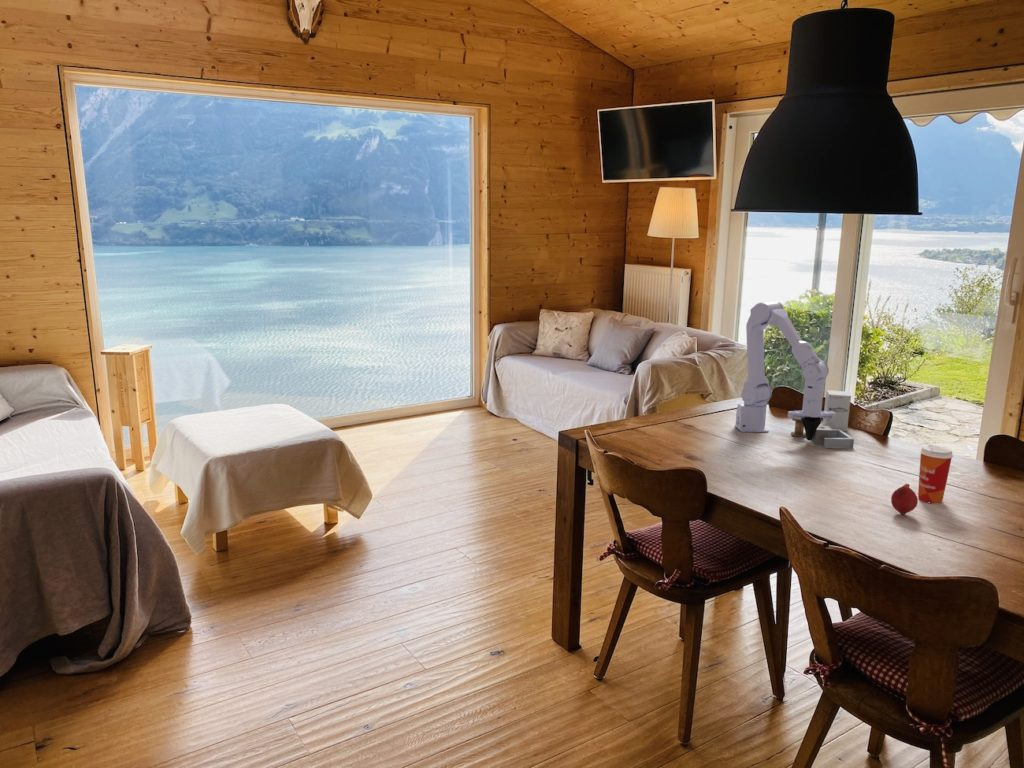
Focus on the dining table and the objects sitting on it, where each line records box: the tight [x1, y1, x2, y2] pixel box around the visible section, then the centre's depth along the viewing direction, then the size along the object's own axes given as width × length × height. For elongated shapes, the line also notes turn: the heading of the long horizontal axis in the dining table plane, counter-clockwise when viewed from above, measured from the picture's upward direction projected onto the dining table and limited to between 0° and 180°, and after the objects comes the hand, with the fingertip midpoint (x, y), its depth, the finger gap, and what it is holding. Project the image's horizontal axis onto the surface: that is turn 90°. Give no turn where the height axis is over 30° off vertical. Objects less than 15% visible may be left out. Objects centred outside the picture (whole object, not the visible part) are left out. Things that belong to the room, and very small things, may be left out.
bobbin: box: [790, 418, 806, 438], centre depth 256 cm, size 5×5×6 cm
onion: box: [890, 483, 919, 515], centre depth 190 cm, size 6×6×8 cm
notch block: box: [822, 429, 855, 449], centre depth 249 cm, size 9×11×3 cm
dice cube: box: [810, 425, 833, 446], centre depth 249 cm, size 5×5×5 cm
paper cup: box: [917, 444, 954, 504], centre depth 199 cm, size 8×8×14 cm
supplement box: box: [822, 389, 852, 432], centre depth 265 cm, size 7×7×13 cm
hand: (808, 439), depth 249 cm, fingers closed
